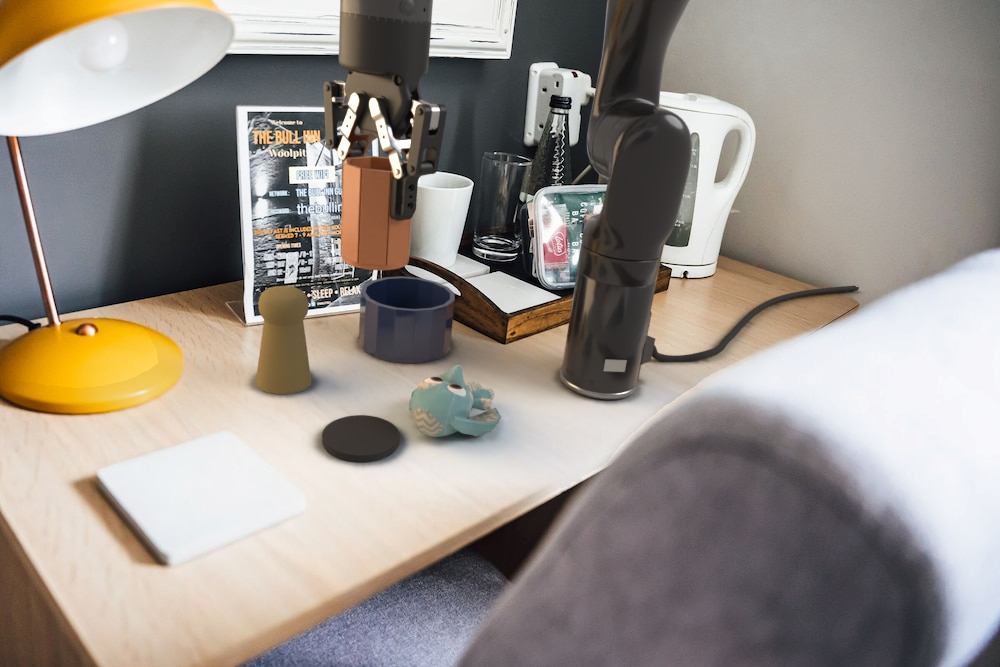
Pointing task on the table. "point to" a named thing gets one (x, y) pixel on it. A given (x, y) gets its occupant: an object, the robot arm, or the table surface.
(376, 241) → the copper pot
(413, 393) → the stuffed animal
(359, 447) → the disc
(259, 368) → the olive brown pawn
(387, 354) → the big pot
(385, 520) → the table surface
